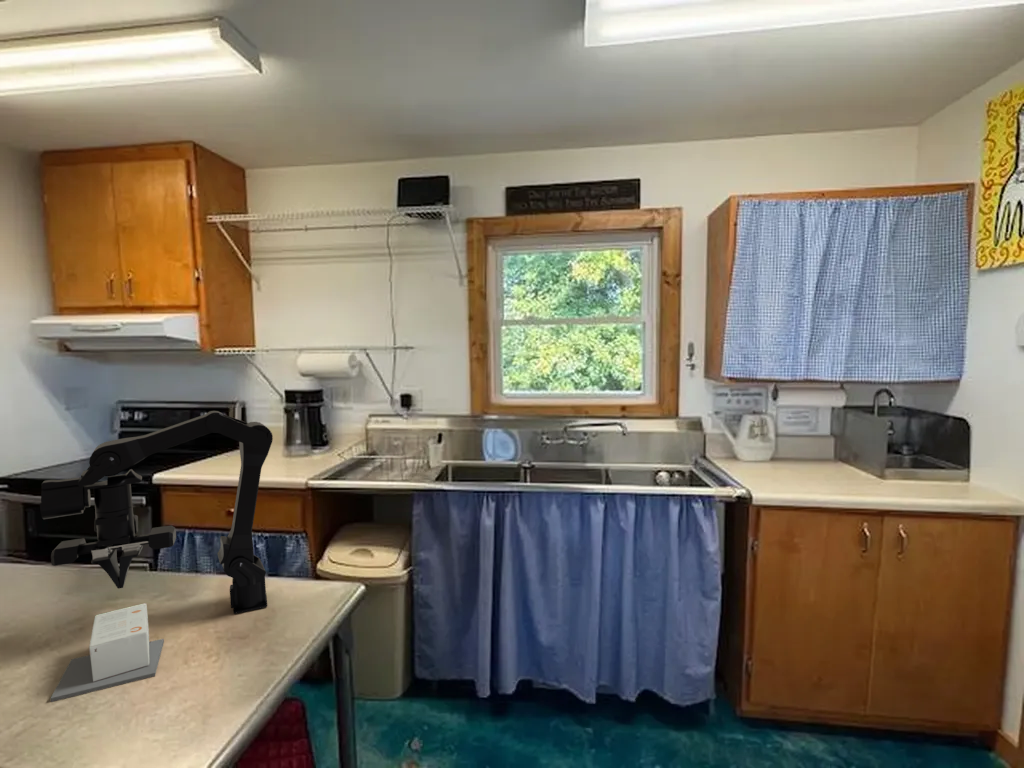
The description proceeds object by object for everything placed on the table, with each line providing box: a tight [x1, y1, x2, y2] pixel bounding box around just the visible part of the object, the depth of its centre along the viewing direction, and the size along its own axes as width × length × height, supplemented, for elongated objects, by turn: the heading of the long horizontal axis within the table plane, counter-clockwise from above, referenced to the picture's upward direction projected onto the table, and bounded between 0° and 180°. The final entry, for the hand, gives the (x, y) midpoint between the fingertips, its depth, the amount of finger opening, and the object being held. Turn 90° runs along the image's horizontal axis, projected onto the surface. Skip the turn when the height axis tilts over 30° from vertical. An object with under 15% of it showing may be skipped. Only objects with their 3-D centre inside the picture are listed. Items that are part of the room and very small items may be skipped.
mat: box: [50, 638, 165, 703], centre depth 95 cm, size 14×12×1 cm
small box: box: [88, 602, 150, 682], centre depth 97 cm, size 8×6×13 cm
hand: (121, 587), depth 104 cm, fingers closed
